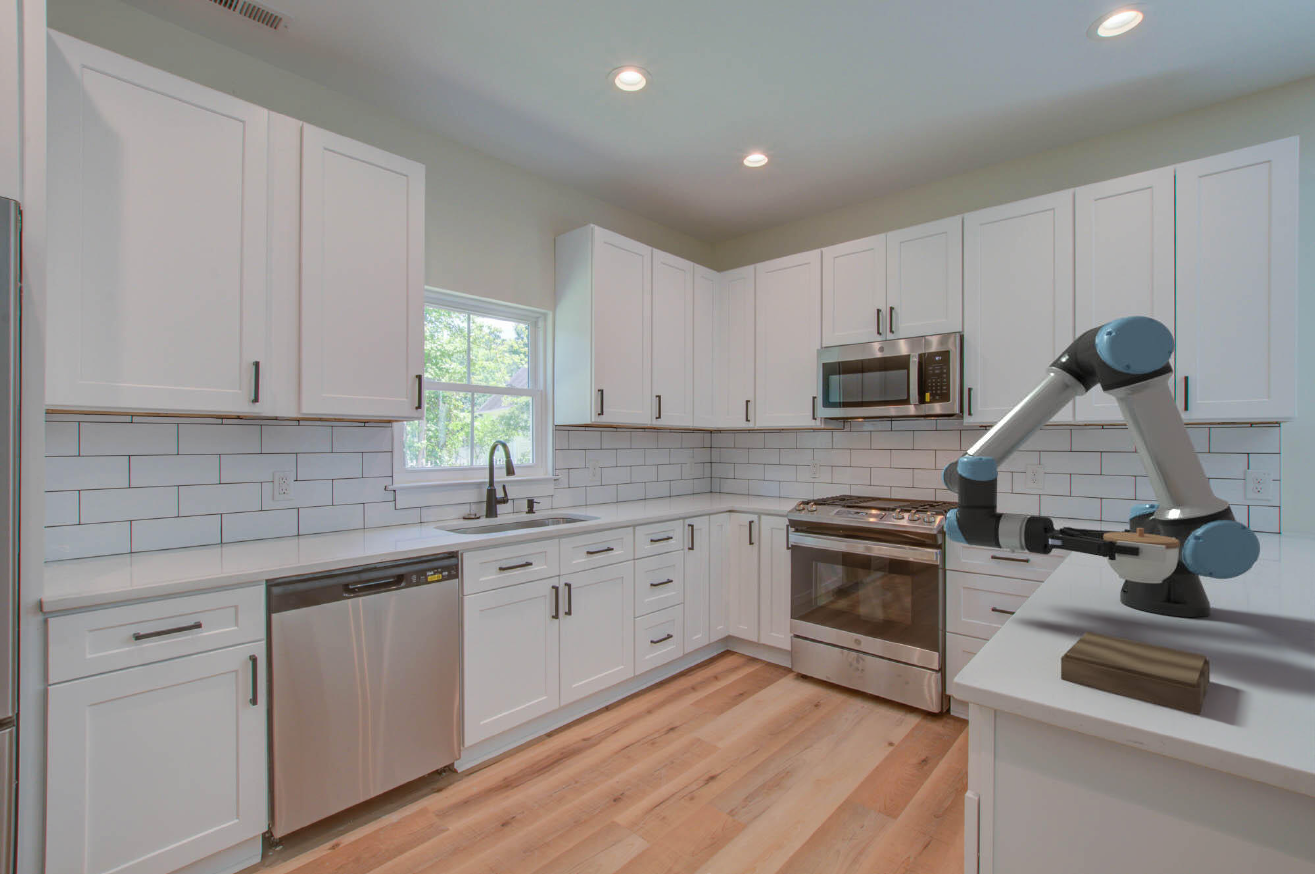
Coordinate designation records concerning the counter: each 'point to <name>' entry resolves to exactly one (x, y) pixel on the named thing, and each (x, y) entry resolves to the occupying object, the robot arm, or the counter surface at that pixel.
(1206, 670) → the walnut stand
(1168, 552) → the lidded jar
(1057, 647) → the counter surface
